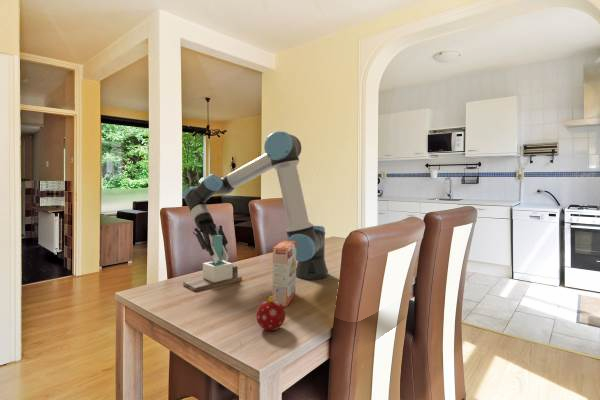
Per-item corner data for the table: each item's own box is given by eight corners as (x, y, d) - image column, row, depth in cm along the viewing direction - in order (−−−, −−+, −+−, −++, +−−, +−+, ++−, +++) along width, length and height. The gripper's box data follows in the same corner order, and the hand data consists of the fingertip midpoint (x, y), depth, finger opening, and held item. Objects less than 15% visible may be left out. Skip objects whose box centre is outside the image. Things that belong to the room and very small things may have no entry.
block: (232, 278, 146) (232, 263, 145) (213, 282, 140) (213, 267, 139) (221, 273, 152) (221, 259, 152) (202, 277, 146) (202, 263, 146)
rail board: (242, 280, 149) (242, 265, 148) (195, 291, 133) (194, 275, 133) (229, 275, 156) (229, 261, 155) (183, 285, 141) (183, 270, 140)
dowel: (224, 270, 146) (223, 235, 145) (215, 272, 143) (215, 237, 142) (219, 268, 149) (218, 234, 147) (210, 270, 146) (210, 235, 145)
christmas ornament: (265, 338, 96) (265, 303, 95) (251, 327, 103) (251, 294, 102) (290, 330, 101) (291, 297, 100) (275, 320, 108) (275, 289, 107)
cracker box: (288, 307, 119) (288, 248, 117) (271, 306, 120) (271, 247, 118) (296, 294, 132) (297, 240, 131) (281, 292, 134) (282, 239, 132)
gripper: (216, 220, 161) (235, 261, 151) (181, 224, 149) (200, 269, 139) (222, 210, 157) (242, 252, 147) (187, 213, 145) (207, 258, 135)
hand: (222, 260), depth 143 cm, fingers closed on dowel, 4 cm apart
